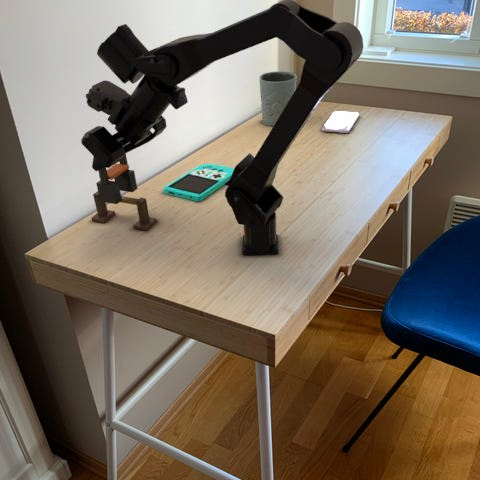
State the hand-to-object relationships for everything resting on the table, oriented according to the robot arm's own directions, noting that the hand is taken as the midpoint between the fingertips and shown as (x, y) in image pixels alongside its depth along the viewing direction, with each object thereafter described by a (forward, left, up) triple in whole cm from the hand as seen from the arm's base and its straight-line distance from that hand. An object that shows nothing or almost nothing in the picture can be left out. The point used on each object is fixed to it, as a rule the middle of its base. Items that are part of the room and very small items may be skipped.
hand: (106, 161), depth 99 cm
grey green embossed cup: (+56, -34, -13) cm, 67 cm away
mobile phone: (+52, -51, -12) cm, 74 cm away
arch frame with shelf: (-1, -1, -7) cm, 7 cm away
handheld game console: (+16, -16, -13) cm, 26 cm away
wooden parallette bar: (-1, -1, -12) cm, 12 cm away
